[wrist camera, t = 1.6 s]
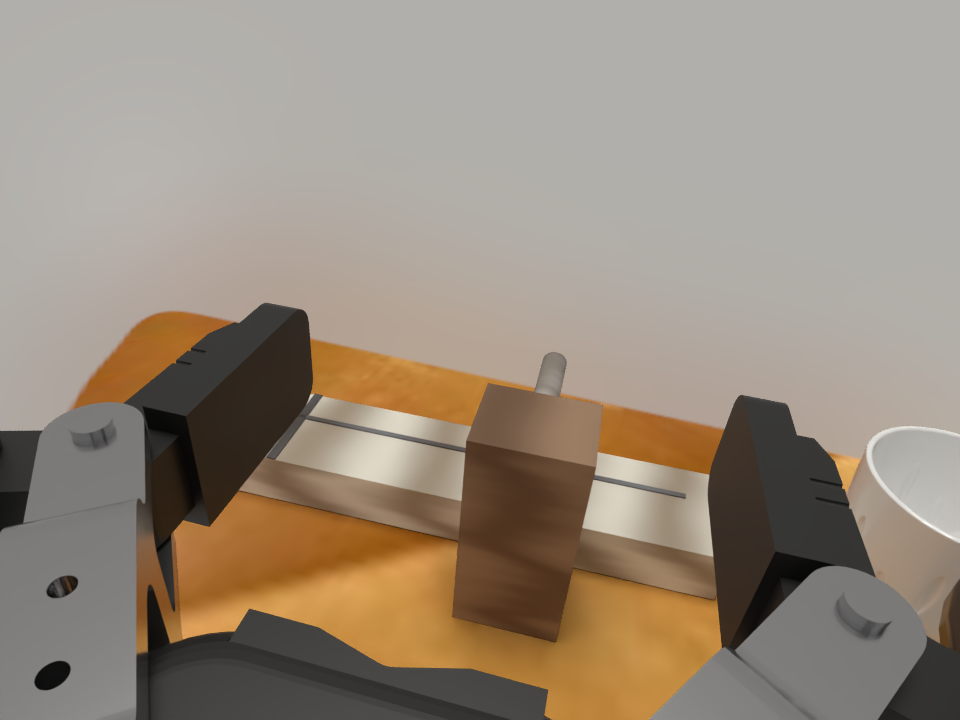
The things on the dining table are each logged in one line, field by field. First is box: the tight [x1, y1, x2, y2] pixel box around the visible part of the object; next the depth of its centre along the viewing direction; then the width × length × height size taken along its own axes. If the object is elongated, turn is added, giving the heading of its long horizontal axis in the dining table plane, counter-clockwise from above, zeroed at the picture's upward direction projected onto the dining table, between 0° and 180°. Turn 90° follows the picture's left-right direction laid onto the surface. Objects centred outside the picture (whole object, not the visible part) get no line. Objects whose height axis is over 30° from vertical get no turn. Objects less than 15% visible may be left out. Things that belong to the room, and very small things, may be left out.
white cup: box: [846, 426, 960, 643], centre depth 29 cm, size 8×8×10 cm
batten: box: [239, 394, 717, 600], centre depth 36 cm, size 30×6×3 cm, turn 77°
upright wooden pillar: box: [452, 352, 603, 642], centre depth 31 cm, size 5×9×11 cm, turn 167°
